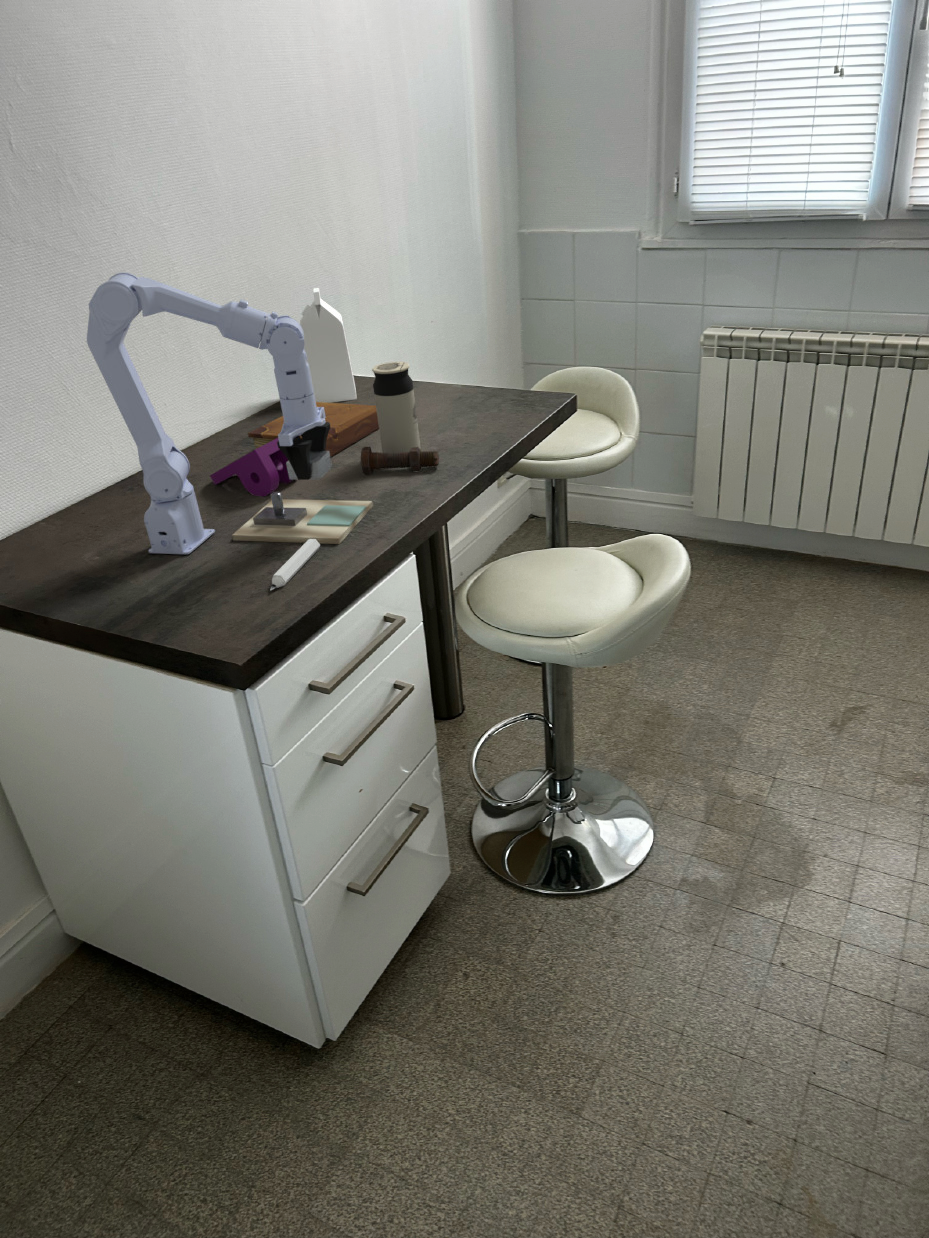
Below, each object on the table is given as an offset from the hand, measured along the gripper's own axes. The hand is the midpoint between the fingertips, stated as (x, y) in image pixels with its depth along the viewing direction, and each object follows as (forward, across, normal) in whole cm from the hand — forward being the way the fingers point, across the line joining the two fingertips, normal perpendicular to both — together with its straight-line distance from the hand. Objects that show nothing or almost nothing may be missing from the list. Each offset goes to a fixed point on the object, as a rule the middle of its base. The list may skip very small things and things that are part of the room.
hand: (311, 472), depth 158 cm
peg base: (+9, -1, +7) cm, 12 cm away
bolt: (+10, +26, -6) cm, 28 cm away
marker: (+10, -19, -3) cm, 21 cm away
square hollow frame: (0, 0, 0) cm, 0 cm away
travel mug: (+10, +36, -3) cm, 37 cm away
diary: (+10, +43, +19) cm, 48 cm away
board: (+9, 0, +3) cm, 10 cm away
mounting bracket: (+10, +17, +22) cm, 30 cm away
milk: (+10, +78, +30) cm, 84 cm away
